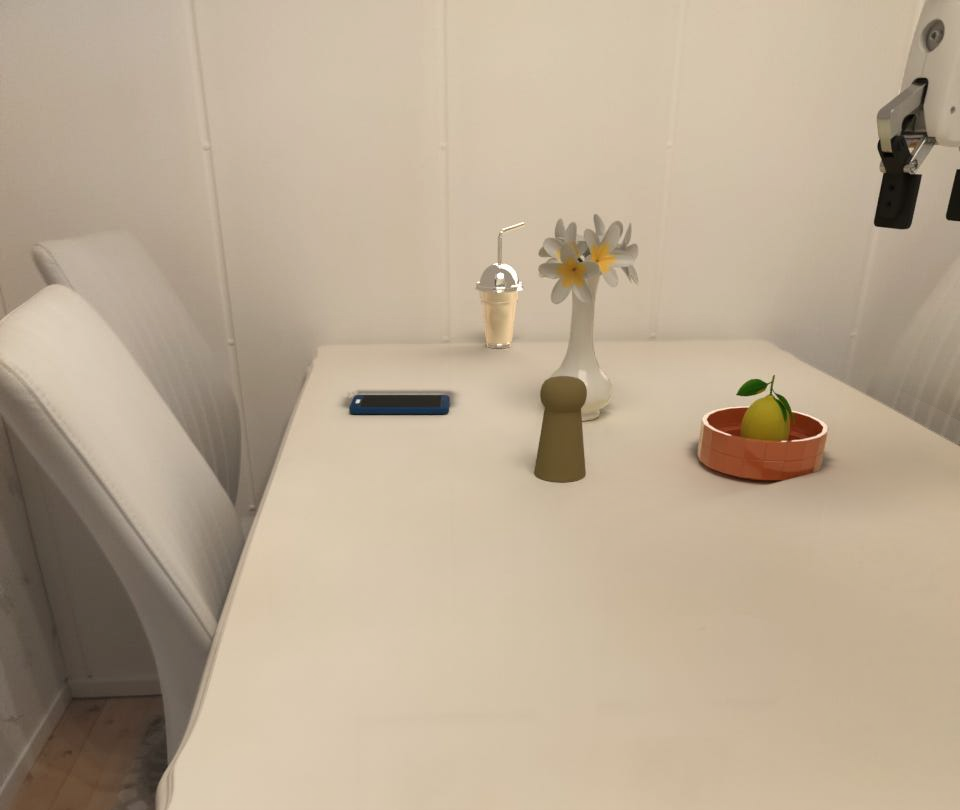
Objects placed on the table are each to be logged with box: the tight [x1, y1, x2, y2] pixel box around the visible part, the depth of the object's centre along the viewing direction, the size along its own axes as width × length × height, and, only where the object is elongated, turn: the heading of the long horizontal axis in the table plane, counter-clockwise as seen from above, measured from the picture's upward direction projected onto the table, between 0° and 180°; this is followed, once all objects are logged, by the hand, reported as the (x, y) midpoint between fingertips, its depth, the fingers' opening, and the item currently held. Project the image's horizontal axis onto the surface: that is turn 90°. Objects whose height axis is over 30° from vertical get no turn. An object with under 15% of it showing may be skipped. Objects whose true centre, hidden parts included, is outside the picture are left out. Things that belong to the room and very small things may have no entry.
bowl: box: [696, 405, 829, 482], centre depth 108 cm, size 14×14×5 cm
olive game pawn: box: [533, 376, 587, 483], centre depth 104 cm, size 6×6×11 cm
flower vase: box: [537, 213, 639, 422], centre depth 120 cm, size 13×18×25 cm
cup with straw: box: [474, 222, 526, 349], centre depth 160 cm, size 8×9×20 cm
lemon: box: [735, 374, 795, 441], centre depth 107 cm, size 7×6×10 cm
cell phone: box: [348, 394, 451, 415], centre depth 130 cm, size 7×14×1 cm, turn 90°
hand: (928, 224), depth 78 cm, fingers open, 9 cm apart
